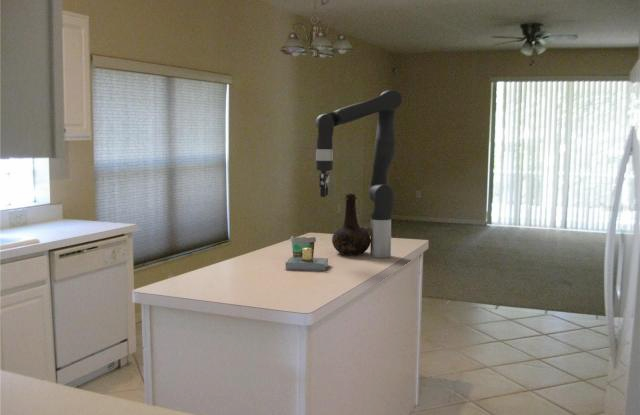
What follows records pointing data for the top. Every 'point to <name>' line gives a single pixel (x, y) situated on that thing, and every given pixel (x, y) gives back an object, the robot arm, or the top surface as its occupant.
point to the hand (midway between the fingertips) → (324, 196)
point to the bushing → (307, 254)
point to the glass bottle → (351, 232)
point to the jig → (307, 264)
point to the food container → (302, 245)
